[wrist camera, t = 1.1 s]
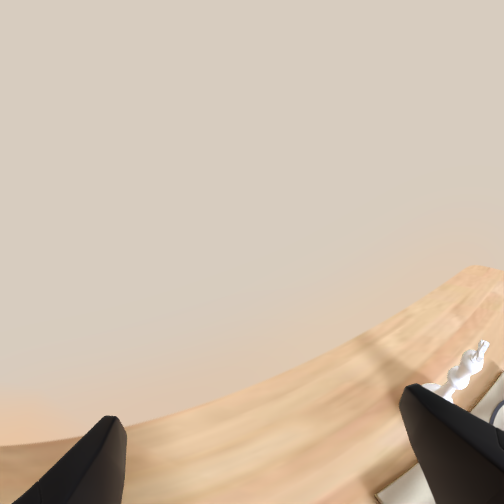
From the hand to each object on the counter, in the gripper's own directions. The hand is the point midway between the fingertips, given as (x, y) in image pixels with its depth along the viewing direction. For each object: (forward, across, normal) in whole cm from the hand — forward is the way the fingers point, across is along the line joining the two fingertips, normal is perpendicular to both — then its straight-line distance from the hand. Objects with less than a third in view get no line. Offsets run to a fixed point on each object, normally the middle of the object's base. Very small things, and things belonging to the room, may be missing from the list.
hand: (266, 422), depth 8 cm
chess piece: (+8, -16, +14) cm, 22 cm away
